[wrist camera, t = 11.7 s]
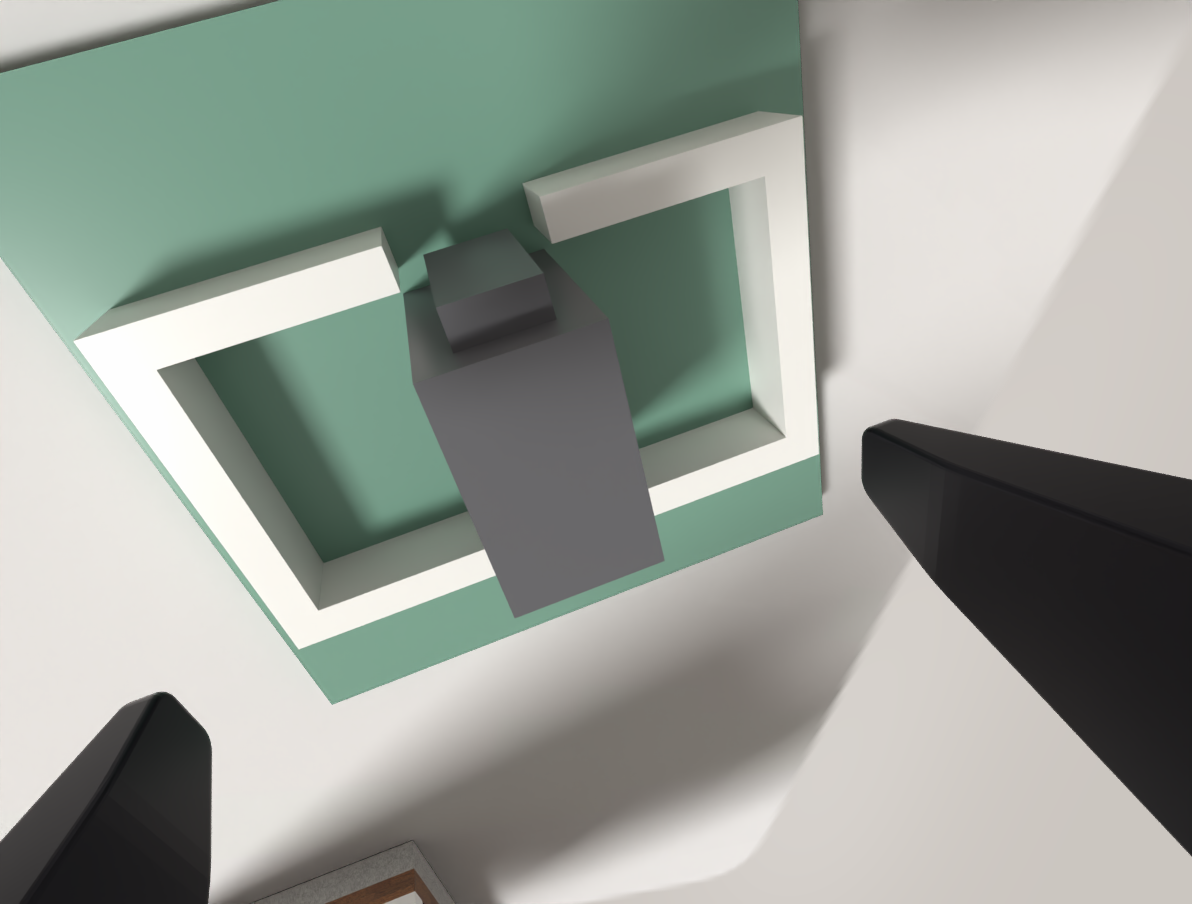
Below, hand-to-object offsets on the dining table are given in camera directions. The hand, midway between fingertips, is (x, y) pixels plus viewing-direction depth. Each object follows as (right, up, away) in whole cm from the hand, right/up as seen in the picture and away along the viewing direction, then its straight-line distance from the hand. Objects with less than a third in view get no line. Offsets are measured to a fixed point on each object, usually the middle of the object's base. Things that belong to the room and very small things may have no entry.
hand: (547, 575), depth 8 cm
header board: (-2, +4, +10) cm, 11 cm away
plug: (-2, +4, +9) cm, 10 cm away
